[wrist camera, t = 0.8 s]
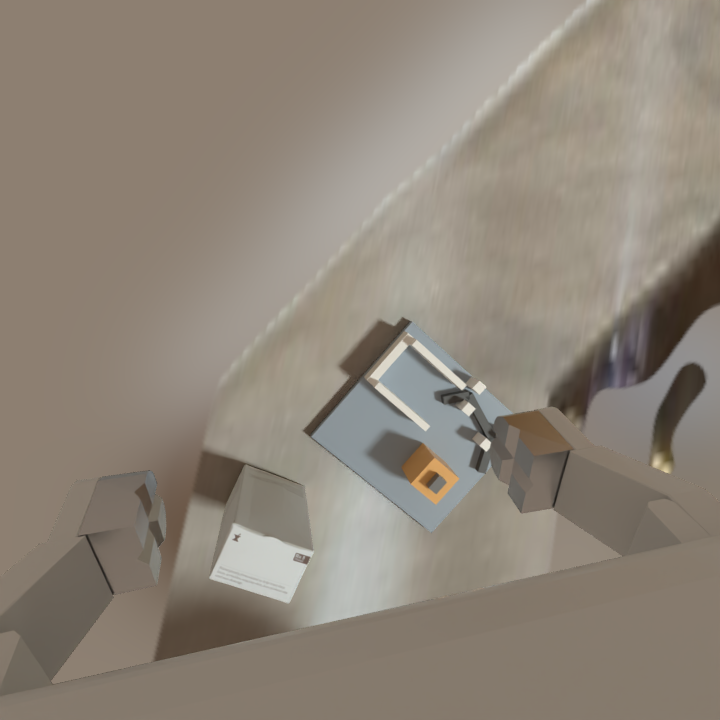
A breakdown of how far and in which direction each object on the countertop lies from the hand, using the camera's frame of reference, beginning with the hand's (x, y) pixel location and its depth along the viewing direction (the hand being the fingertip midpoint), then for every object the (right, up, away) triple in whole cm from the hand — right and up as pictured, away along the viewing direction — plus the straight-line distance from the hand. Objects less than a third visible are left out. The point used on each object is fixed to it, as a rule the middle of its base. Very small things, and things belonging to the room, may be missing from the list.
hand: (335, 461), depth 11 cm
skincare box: (-11, -14, +46) cm, 49 cm away
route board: (+8, -6, +47) cm, 48 cm away
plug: (+8, -10, +47) cm, 48 cm away
